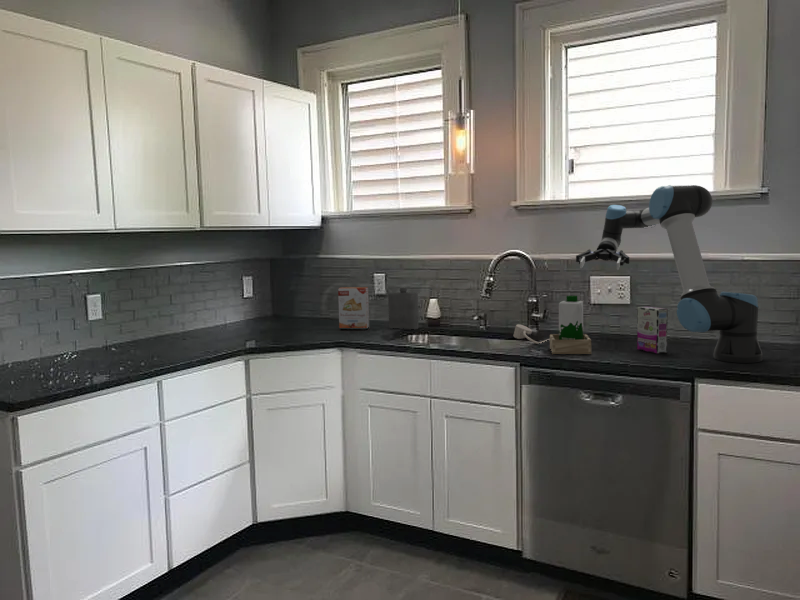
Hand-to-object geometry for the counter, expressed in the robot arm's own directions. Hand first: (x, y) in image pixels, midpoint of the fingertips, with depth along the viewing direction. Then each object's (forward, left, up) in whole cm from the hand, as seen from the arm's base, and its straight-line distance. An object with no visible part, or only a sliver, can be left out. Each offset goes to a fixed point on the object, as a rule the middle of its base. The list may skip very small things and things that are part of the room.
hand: (599, 265), depth 259 cm
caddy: (-6, +12, -32) cm, 35 cm away
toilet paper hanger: (+24, +25, -33) cm, 48 cm away
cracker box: (+55, +109, -32) cm, 126 cm away
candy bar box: (-6, -18, -32) cm, 38 cm away
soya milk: (-6, +11, -31) cm, 34 cm away
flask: (+58, +84, -32) cm, 107 cm away
